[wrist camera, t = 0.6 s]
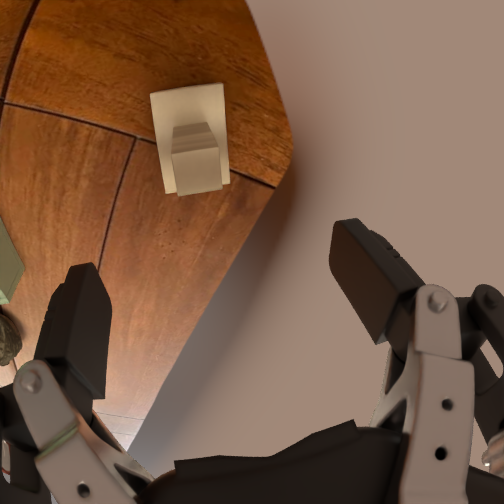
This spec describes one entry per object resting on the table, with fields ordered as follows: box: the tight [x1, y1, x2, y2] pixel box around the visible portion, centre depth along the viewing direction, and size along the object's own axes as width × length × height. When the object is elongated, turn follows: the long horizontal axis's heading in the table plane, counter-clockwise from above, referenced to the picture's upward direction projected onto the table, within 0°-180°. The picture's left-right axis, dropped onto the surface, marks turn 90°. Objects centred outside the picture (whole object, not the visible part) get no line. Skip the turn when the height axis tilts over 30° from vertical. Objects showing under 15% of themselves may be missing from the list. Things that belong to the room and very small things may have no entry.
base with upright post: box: [150, 83, 230, 196], centre depth 19 cm, size 8×5×10 cm, turn 2°
